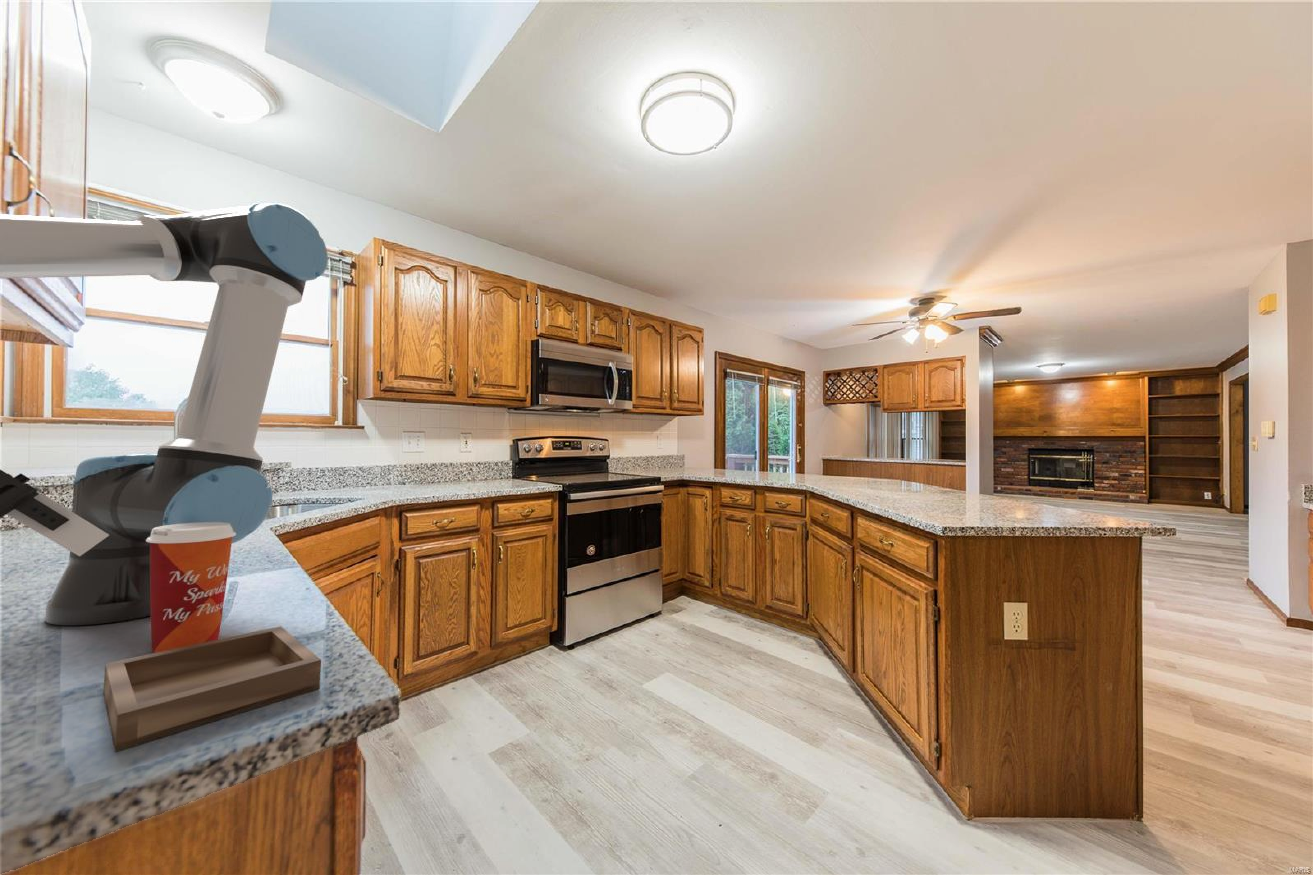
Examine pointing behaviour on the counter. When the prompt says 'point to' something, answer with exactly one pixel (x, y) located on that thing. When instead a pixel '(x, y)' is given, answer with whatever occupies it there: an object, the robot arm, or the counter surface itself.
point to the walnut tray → (204, 683)
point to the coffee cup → (188, 582)
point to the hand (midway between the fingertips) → (83, 537)
